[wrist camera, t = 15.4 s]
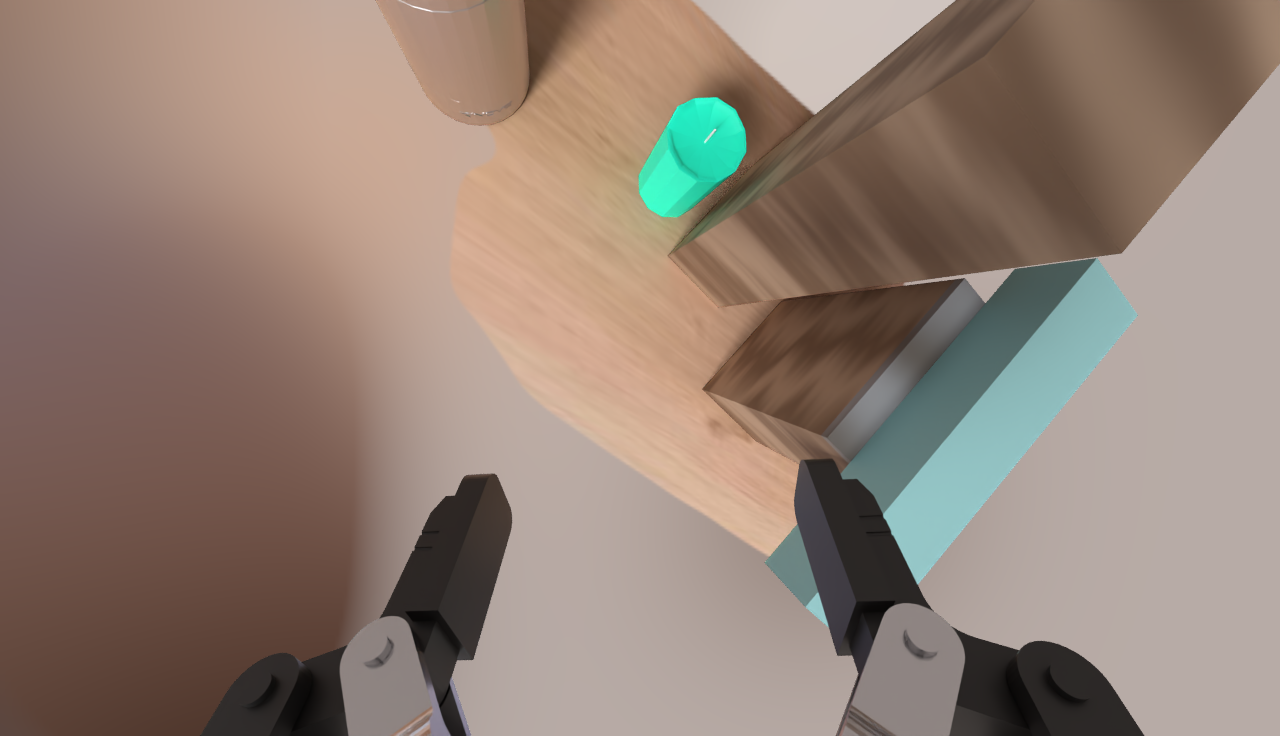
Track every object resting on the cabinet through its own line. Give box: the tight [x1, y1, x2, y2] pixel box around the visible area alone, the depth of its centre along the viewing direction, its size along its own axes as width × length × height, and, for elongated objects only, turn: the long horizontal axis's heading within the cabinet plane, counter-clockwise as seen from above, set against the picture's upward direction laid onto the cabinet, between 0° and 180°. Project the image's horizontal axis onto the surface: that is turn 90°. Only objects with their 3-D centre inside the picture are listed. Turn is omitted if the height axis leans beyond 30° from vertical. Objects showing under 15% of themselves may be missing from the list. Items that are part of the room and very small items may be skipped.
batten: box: [765, 258, 1138, 627], centre depth 24 cm, size 22×4×4 cm, turn 137°
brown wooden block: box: [703, 278, 985, 474], centre depth 36 cm, size 12×8×21 cm, turn 137°
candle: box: [639, 97, 747, 217], centre depth 37 cm, size 6×6×12 cm
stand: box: [668, 0, 1280, 307], centre depth 28 cm, size 12×7×32 cm, turn 137°
